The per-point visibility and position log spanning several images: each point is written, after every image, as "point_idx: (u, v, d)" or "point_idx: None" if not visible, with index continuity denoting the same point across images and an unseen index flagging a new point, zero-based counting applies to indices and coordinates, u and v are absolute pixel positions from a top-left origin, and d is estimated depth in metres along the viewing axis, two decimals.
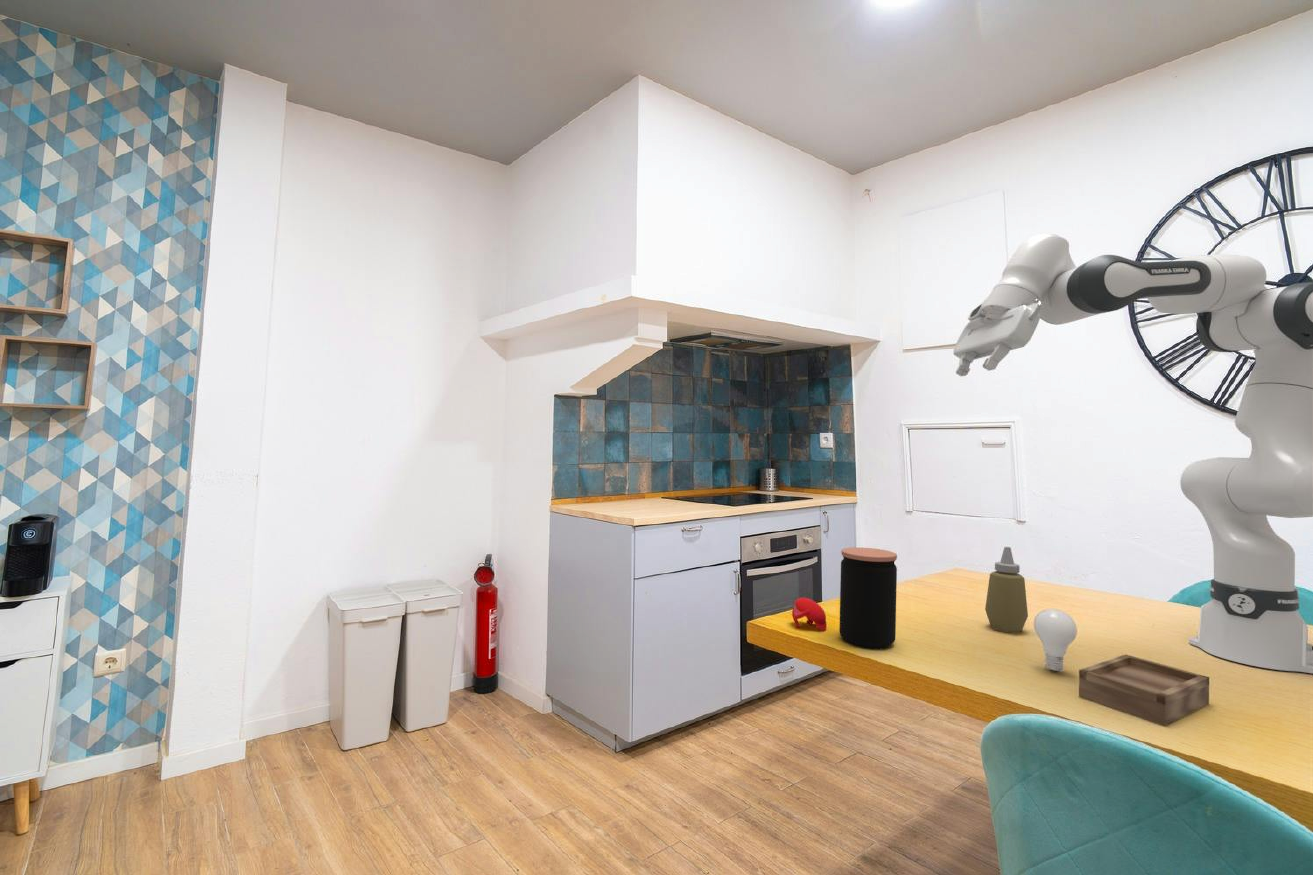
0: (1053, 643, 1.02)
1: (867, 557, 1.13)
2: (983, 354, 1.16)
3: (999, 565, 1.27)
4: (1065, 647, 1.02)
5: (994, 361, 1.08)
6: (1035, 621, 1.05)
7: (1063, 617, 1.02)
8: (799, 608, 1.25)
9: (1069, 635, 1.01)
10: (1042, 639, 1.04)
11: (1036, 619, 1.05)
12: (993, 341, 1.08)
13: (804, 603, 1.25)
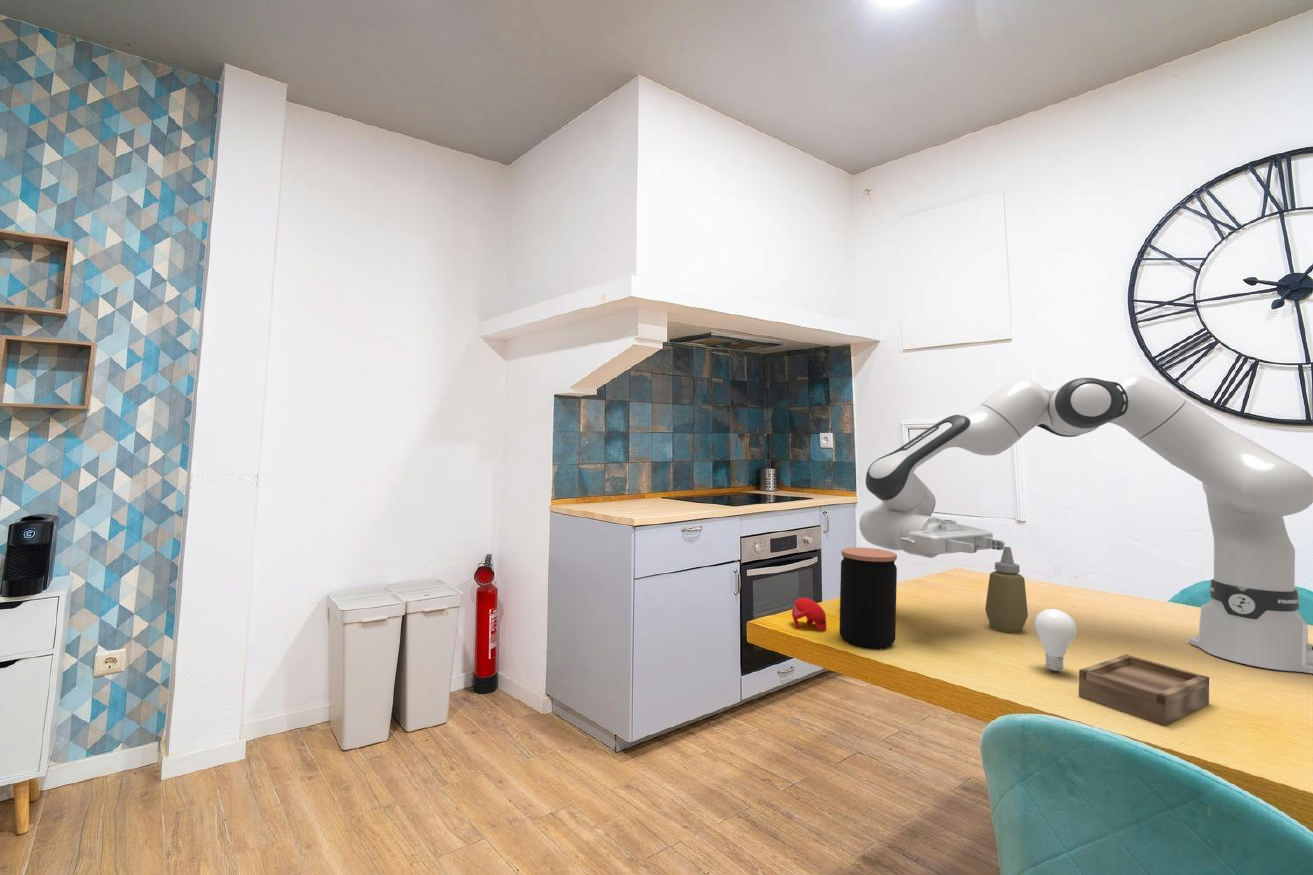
0: (1053, 643, 1.02)
1: (867, 557, 1.13)
2: (972, 536, 1.20)
3: (999, 565, 1.27)
4: (1065, 647, 1.02)
5: (964, 547, 1.13)
6: (1035, 621, 1.05)
7: (1063, 617, 1.02)
8: (799, 608, 1.25)
9: (1069, 635, 1.01)
10: (1042, 639, 1.04)
11: (1036, 619, 1.05)
12: None
13: (804, 603, 1.25)
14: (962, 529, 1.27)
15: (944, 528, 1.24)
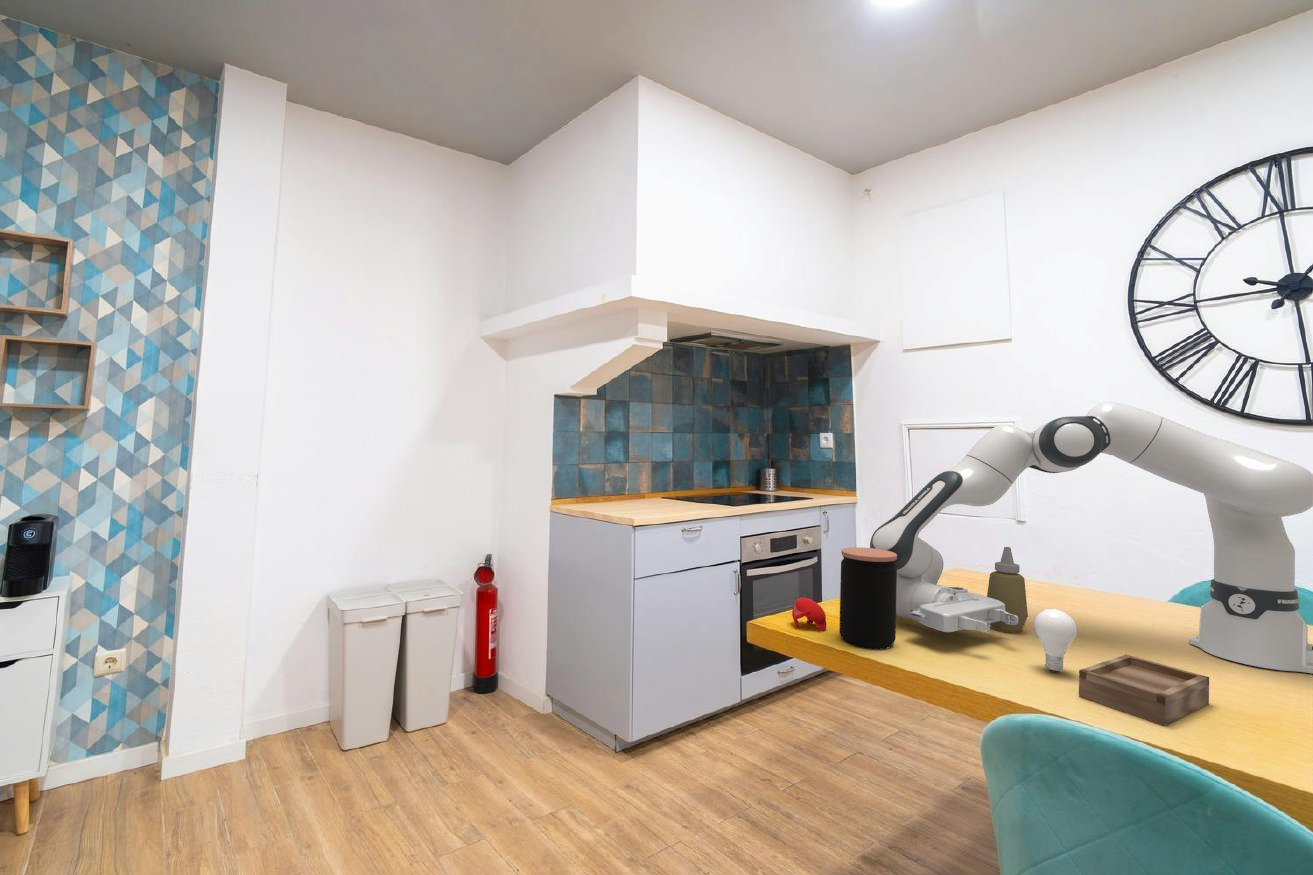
0: (1053, 643, 1.02)
1: (867, 557, 1.13)
2: None
3: (999, 565, 1.27)
4: (1065, 647, 1.02)
5: (977, 625, 1.11)
6: (1035, 621, 1.05)
7: (1063, 617, 1.02)
8: (799, 608, 1.25)
9: (1069, 635, 1.01)
10: (1042, 639, 1.04)
11: (1036, 619, 1.05)
12: None
13: (804, 603, 1.25)
14: (974, 599, 1.24)
15: (955, 599, 1.22)
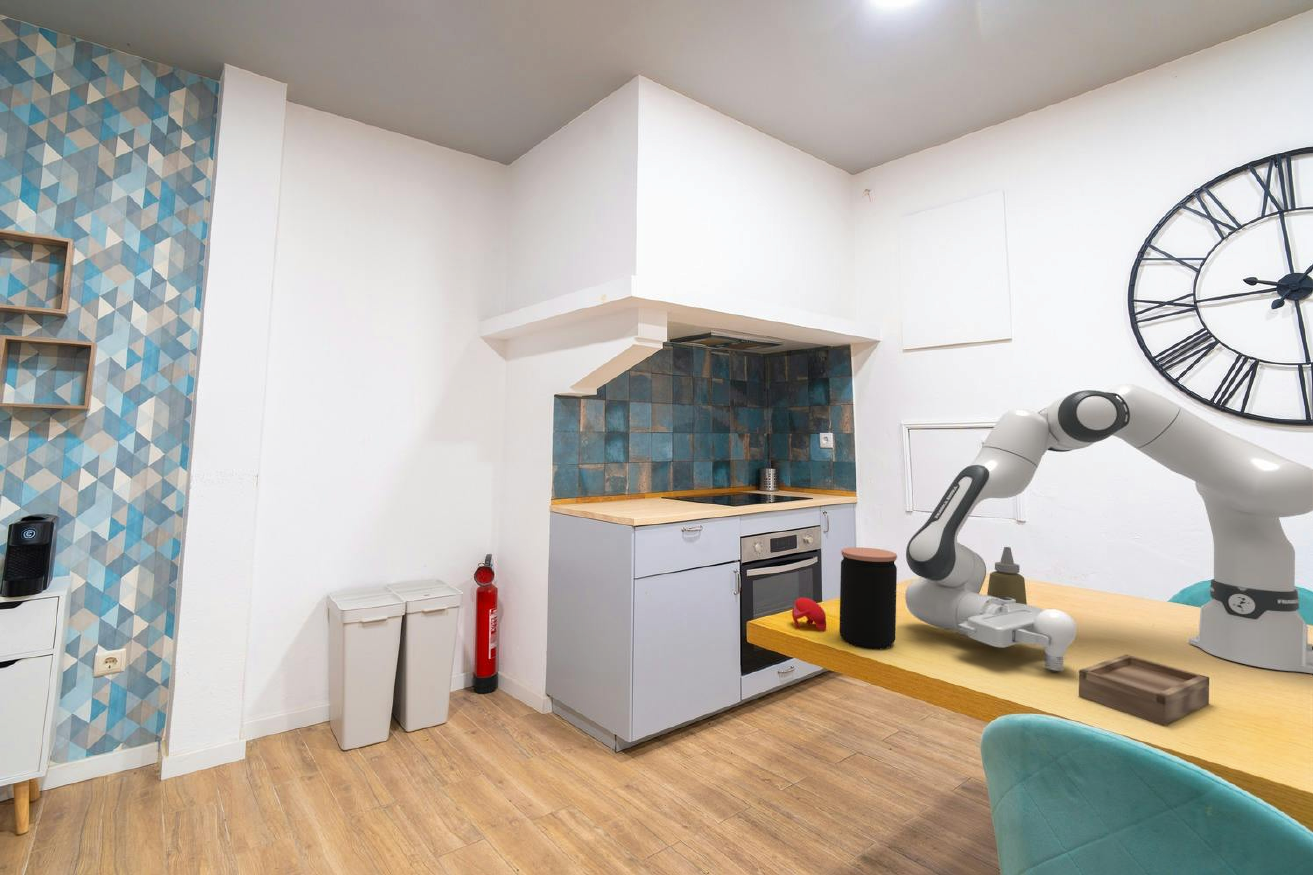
0: (1053, 643, 1.02)
1: (867, 557, 1.13)
2: None
3: (999, 565, 1.27)
4: (1065, 647, 1.02)
5: (1038, 639, 1.02)
6: (1035, 621, 1.05)
7: (1063, 617, 1.02)
8: (799, 608, 1.25)
9: (1069, 635, 1.01)
10: None
11: (1036, 619, 1.05)
12: None
13: (804, 603, 1.25)
14: (1023, 610, 1.15)
15: (1005, 610, 1.13)
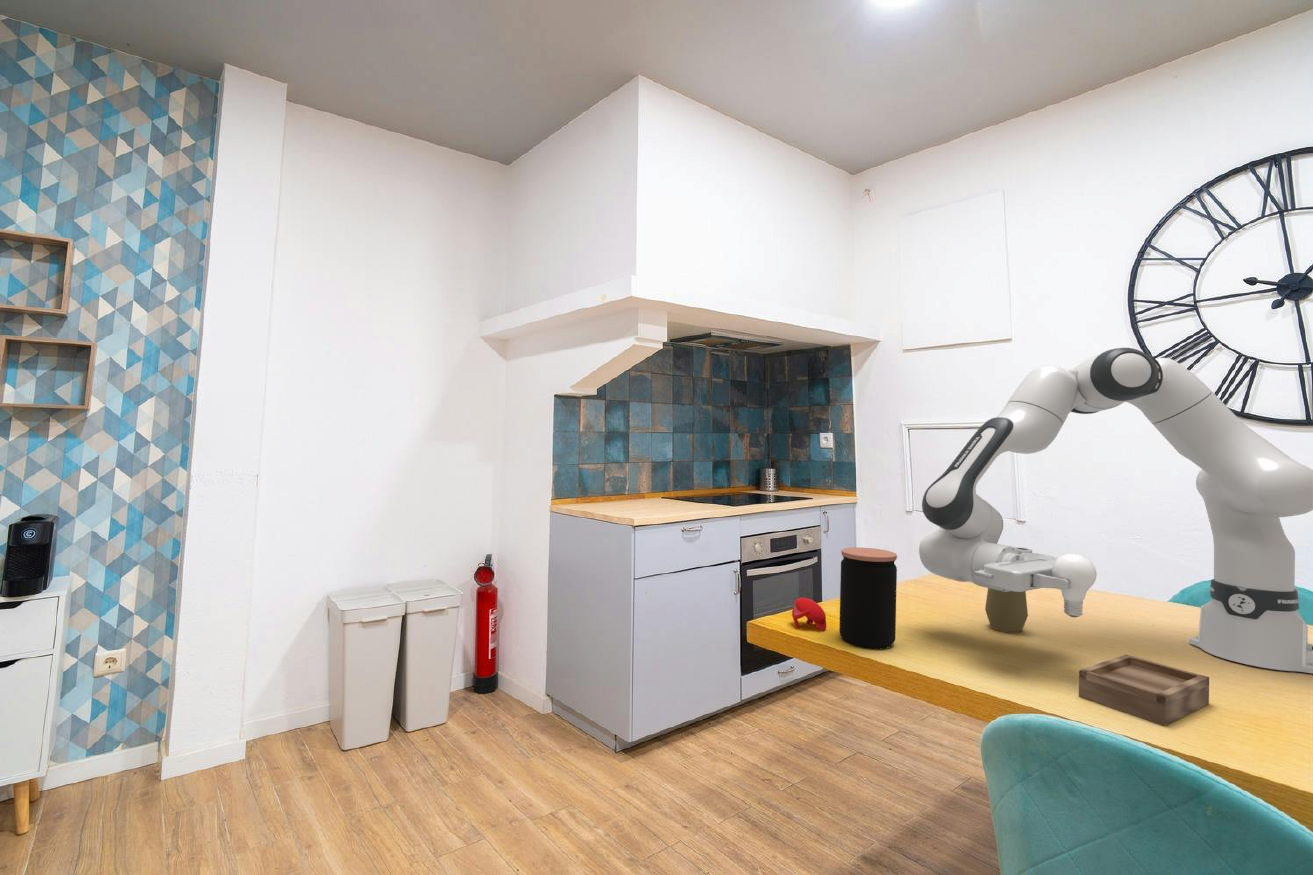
0: (1071, 587, 1.00)
1: (867, 557, 1.13)
2: None
3: None
4: (1084, 591, 1.00)
5: (1056, 583, 1.00)
6: (1053, 566, 1.03)
7: (1082, 560, 1.00)
8: (799, 608, 1.25)
9: (1088, 578, 0.99)
10: None
11: (1054, 564, 1.02)
12: (1033, 589, 1.03)
13: (804, 603, 1.25)
14: (1040, 559, 1.13)
15: (1021, 559, 1.11)
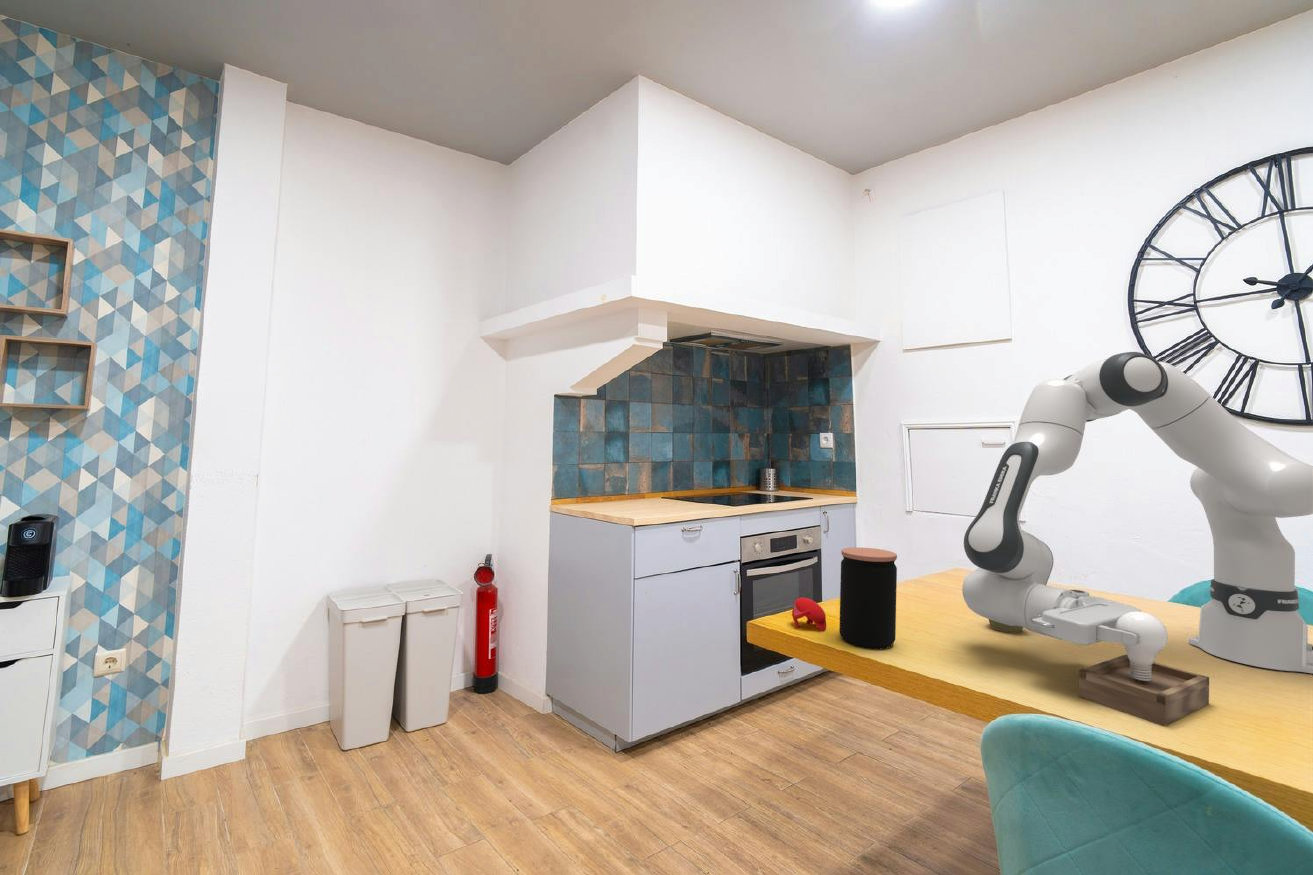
0: (1140, 650, 0.91)
1: (867, 557, 1.13)
2: None
3: None
4: (1154, 654, 0.91)
5: (1123, 637, 0.90)
6: (1118, 625, 0.93)
7: (1152, 620, 0.90)
8: (799, 608, 1.25)
9: (1160, 641, 0.89)
10: (1127, 645, 0.92)
11: (1119, 623, 0.93)
12: (1099, 641, 0.94)
13: (804, 603, 1.25)
14: (1099, 604, 1.04)
15: (1081, 604, 1.02)
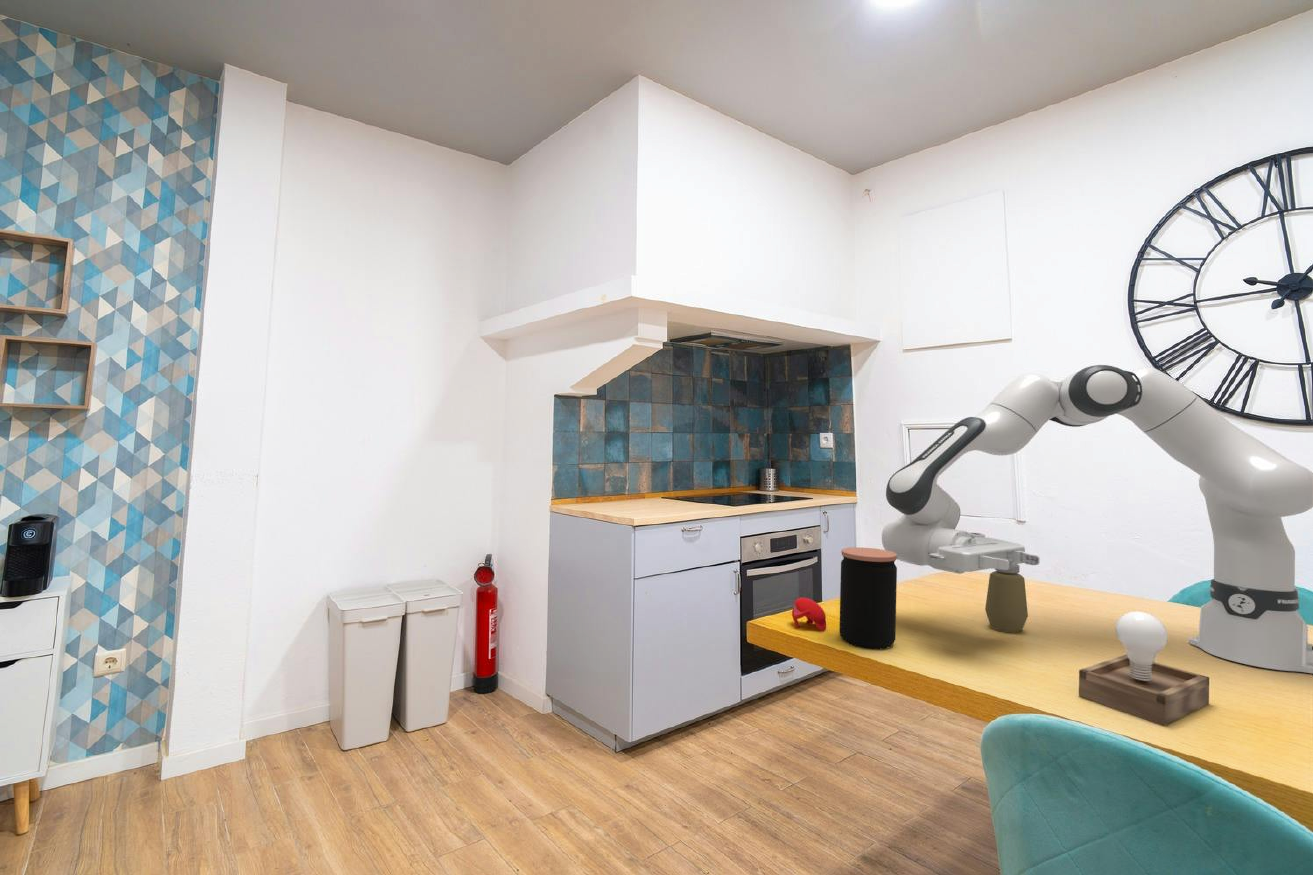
0: (1140, 650, 0.91)
1: (867, 557, 1.13)
2: None
3: None
4: (1154, 654, 0.91)
5: (999, 563, 1.07)
6: (1118, 625, 0.93)
7: (1152, 620, 0.90)
8: (799, 608, 1.25)
9: (1160, 641, 0.89)
10: (1127, 645, 0.92)
11: (1119, 623, 0.93)
12: (982, 569, 1.10)
13: (804, 603, 1.25)
14: (992, 543, 1.21)
15: (973, 542, 1.18)
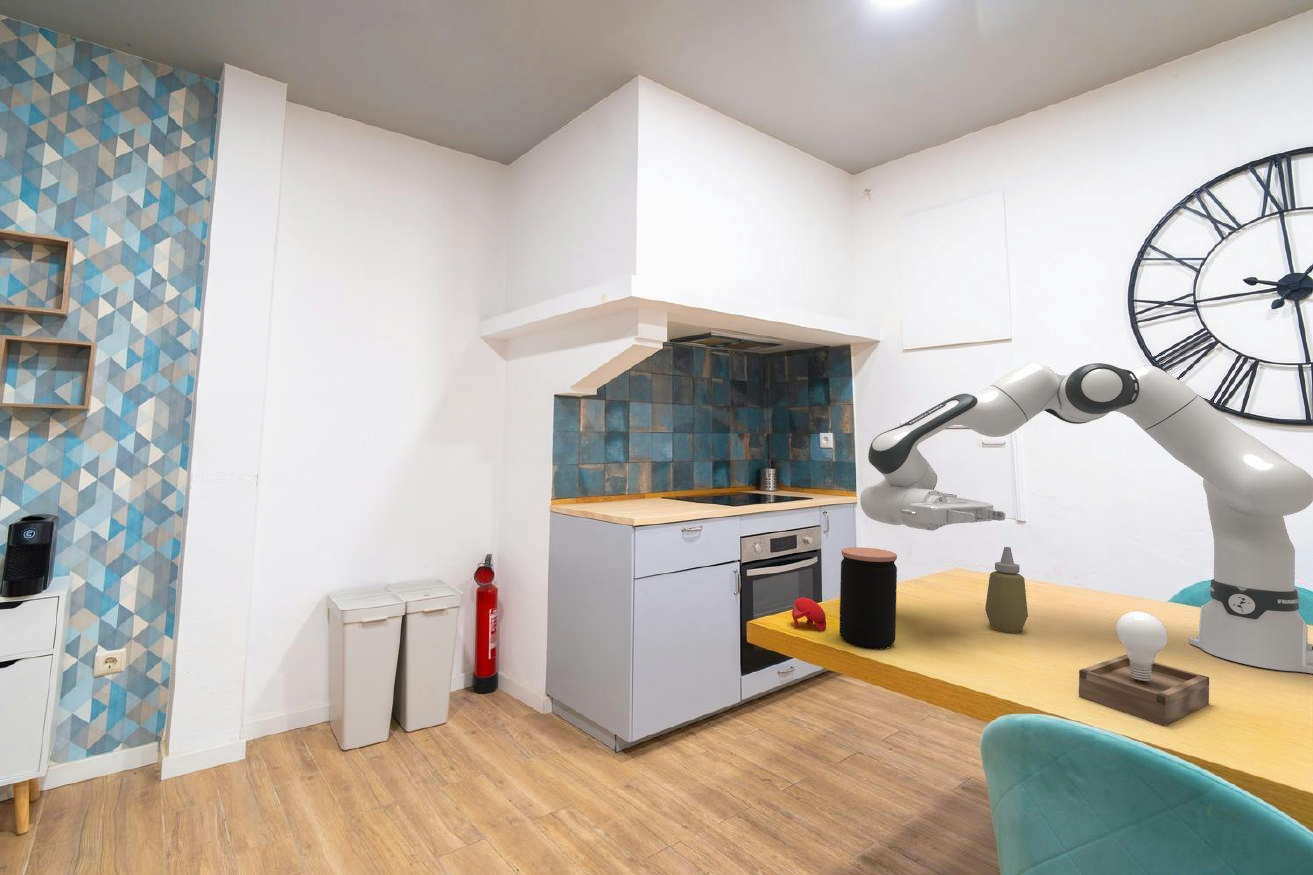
0: (1140, 650, 0.91)
1: (867, 557, 1.13)
2: None
3: (999, 565, 1.27)
4: (1154, 655, 0.91)
5: (965, 517, 1.13)
6: (1118, 625, 0.93)
7: (1152, 620, 0.90)
8: (799, 608, 1.25)
9: (1160, 641, 0.89)
10: (1127, 645, 0.92)
11: (1119, 623, 0.93)
12: (950, 523, 1.16)
13: (804, 603, 1.25)
14: (963, 502, 1.27)
15: (945, 501, 1.24)
